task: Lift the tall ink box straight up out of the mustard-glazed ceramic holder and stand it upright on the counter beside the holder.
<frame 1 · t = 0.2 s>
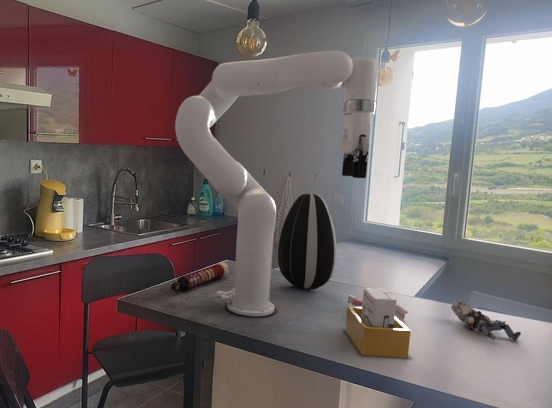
hand: (353, 176, 116), 37 cm above the countertop, tool pointing down, fingers open, 9 cm apart
toy 2: (479, 331, 113), on the countertop
sunflower seed: (303, 288, 143), on the countertop
toy: (375, 317, 120), on the countertop
shock absorber: (202, 284, 142), on the countertop
holder: (374, 343, 102), on the countertop
ink box: (374, 344, 102), resting in holder
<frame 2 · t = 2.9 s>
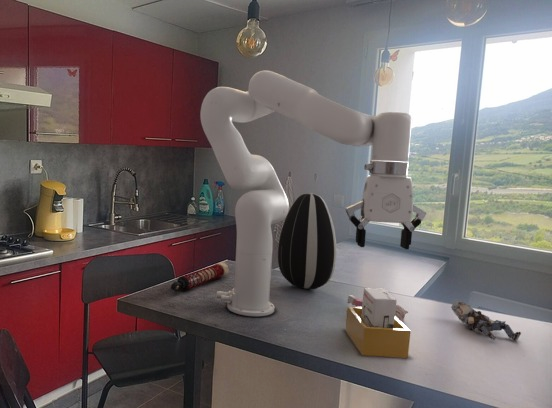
hand: (382, 247, 101), 22 cm above the countertop, tool pointing down, fingers open, 9 cm apart
nothing on the countertop moved.
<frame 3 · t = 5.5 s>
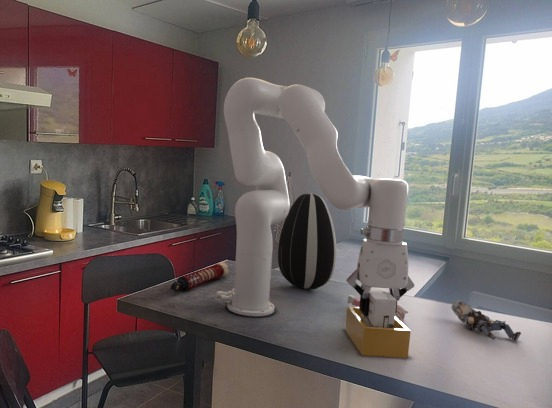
hand: (377, 314, 102), 7 cm above the countertop, tool pointing down, fingers closed on ink box, 5 cm apart
ink box: (374, 344, 102), resting in holder, touching gripper
everything else where it was.
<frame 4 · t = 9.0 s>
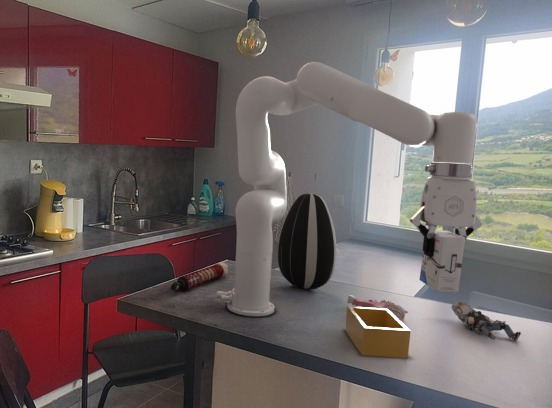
hand: (441, 255, 98), 21 cm above the countertop, tool pointing down, fingers closed on ink box, 5 cm apart
ink box: (438, 287, 98), point 14 cm above the countertop, touching gripper
everything else where it was.
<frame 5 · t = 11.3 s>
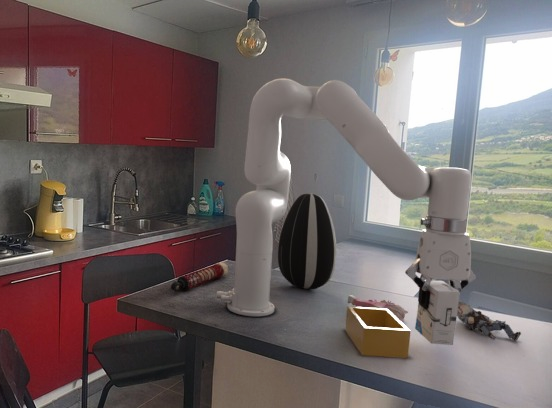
hand: (436, 306, 99), 10 cm above the countertop, tool pointing down, fingers closed on ink box, 5 cm apart
ink box: (433, 337, 100), point 3 cm above the countertop, touching gripper
everything else where it was.
when the fingers open (7 cm above the countertop, at t = 12.6 s): ink box stays where it is, on the countertop.
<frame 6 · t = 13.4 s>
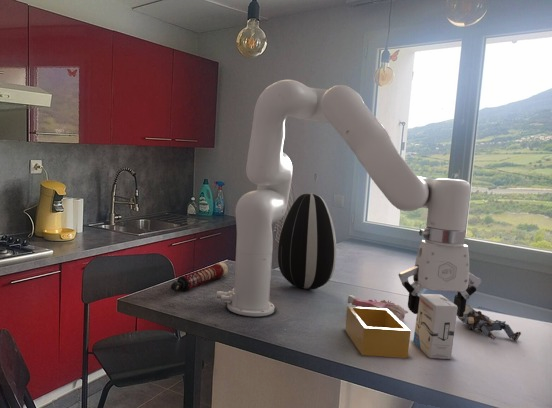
hand: (435, 313, 99), 8 cm above the countertop, tool pointing down, fingers open, 9 cm apart
ink box: (431, 351, 100), on the countertop
everything else where it was.
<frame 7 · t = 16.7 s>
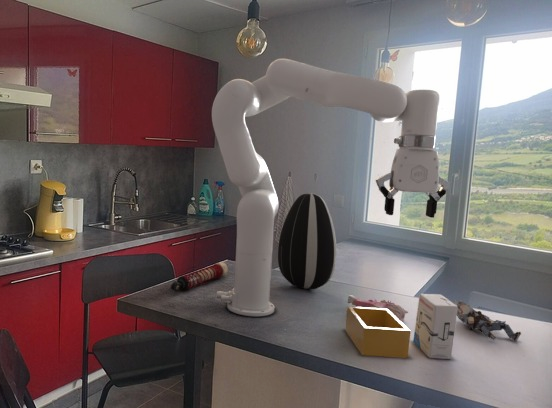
hand: (409, 215, 109), 28 cm above the countertop, tool pointing down, fingers open, 9 cm apart
nothing on the countertop moved.
at the end: ink box inside the target area (0.1 cm from its centre), on the countertop; ink box tilted 0°; ink box touching countertop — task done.
